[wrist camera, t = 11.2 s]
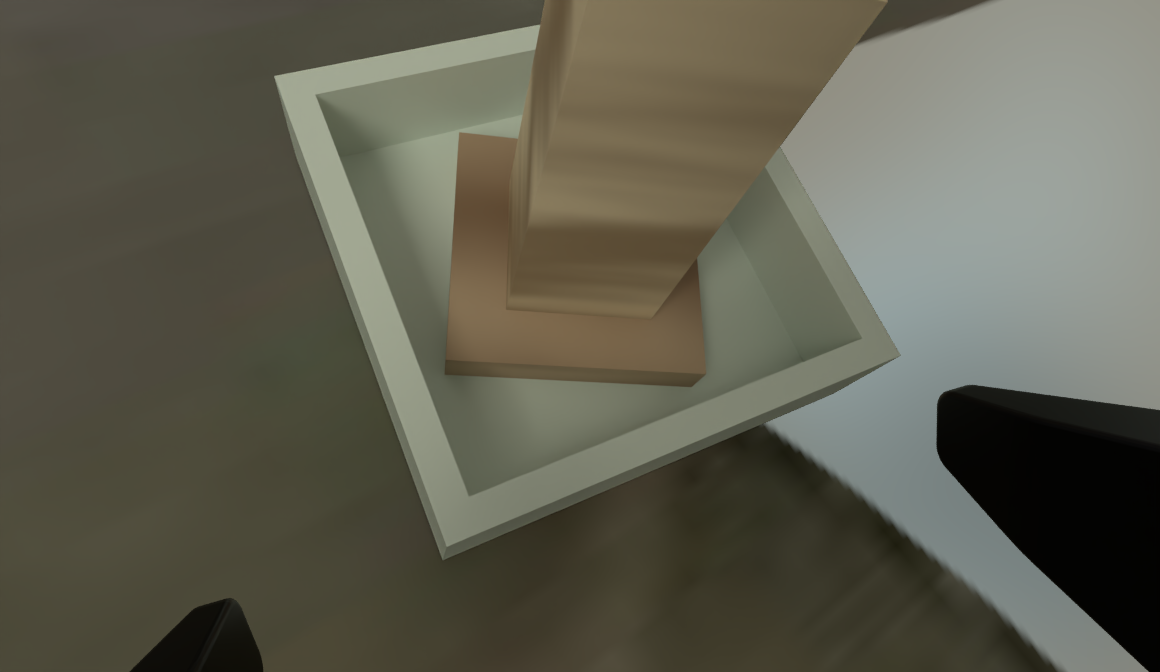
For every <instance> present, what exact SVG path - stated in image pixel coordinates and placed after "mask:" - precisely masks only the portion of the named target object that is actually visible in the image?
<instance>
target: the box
mask: <svg viewBox="0 0 1160 672" xmlns="http://www.w3.org/2000/svg"><path fill="white" fill-rule="evenodd" d="M539 29H540V25H536V26H531V27H526V28H520V29H515V30H510V31H505V32H500V33H495V34H489V35H484V36H479V37H474V38H469V39H464V40H458V41H453V42H448V43H443V44H438V45H433V46H428V47H422V48H417V49H412V50H407V51H402V52H397V53H391V54H386V55H381V56H376V57H371V58H366V59H360V60H355V61H350V62H345V63H340V64H335V65H329V66H324V67H319V68H314V69H309V70H304V71H298V72H293V73H288V74H283V75H278V76H274V77H275V81H276V84H277V88H278V92H279V96H280V99H281V103H282V107H283V110H284V114H285V118H286V121H287V125H288V129H289V133H290V136H291V140H292V144H293V147H294V151H295V155H296V158H297V161H298V163H299V166H300V169H301V172H302V174H303V177H304V180H305V183H306V185H307V188H308V191H309V194H310V196H311V199H312V202H313V205H314V207H315V210H316V213H317V216H318V218H319V221H320V224H321V227H322V229H323V232H324V235H325V238H326V241H327V243H328V246H329V249H330V252H331V254H332V257H333V260H334V263H335V265H336V268H337V271H338V274H339V276H340V279H341V282H342V285H343V287H344V290H345V293H346V296H347V298H348V301H349V304H350V307H351V309H352V312H353V315H354V318H355V320H356V323H357V326H358V329H359V331H360V334H361V337H362V340H363V342H364V345H365V348H366V351H367V353H368V356H369V359H370V362H371V364H372V367H373V370H374V373H375V375H376V378H377V381H378V384H379V386H380V389H381V392H382V395H383V397H384V400H385V403H386V406H387V409H388V411H389V414H390V417H391V420H392V422H393V425H394V428H395V431H396V433H397V436H398V439H399V442H400V444H401V447H402V450H403V453H404V455H405V458H406V461H407V464H408V466H409V469H410V472H411V475H412V477H413V480H414V483H415V486H416V488H417V491H418V494H419V497H420V499H421V502H422V505H423V508H424V510H425V513H426V516H427V519H428V521H429V524H430V527H431V530H432V532H433V535H434V538H435V541H436V543H437V546H438V549H439V552H440V554H441V557H442V560H445V559H447V558H449V557H452V556H454V555H456V554H459V553H461V552H463V551H466V550H468V549H470V548H473V547H475V546H477V545H480V544H482V543H485V542H487V541H489V540H492V539H494V538H496V537H499V536H501V535H503V534H506V533H508V532H510V531H513V530H515V529H517V528H520V527H522V526H524V525H527V524H529V523H531V522H534V521H536V520H538V519H541V518H543V517H545V516H548V515H550V514H552V513H555V512H557V511H559V510H562V509H564V508H567V507H569V506H571V505H574V504H576V503H578V502H581V501H583V500H585V499H588V498H590V497H592V496H595V495H597V494H599V493H602V492H604V491H606V490H609V489H611V488H613V487H616V486H618V485H620V484H623V483H625V482H627V481H630V480H632V479H634V478H637V477H639V476H641V475H644V474H646V473H648V472H651V471H653V470H656V469H658V468H660V467H663V466H665V465H667V464H670V463H672V462H674V461H677V460H679V459H681V458H684V457H686V456H688V455H691V454H693V453H695V452H698V451H700V450H702V449H705V448H707V447H709V446H712V445H714V444H716V443H719V442H721V441H723V440H726V439H728V438H730V437H733V436H735V435H737V434H740V433H742V432H745V431H747V430H749V429H752V428H754V427H756V426H759V425H761V424H763V423H766V422H768V421H770V420H773V419H775V418H777V417H779V416H782V415H784V414H787V413H789V412H791V411H794V410H796V409H798V408H801V407H803V406H805V405H808V404H810V403H812V402H815V401H817V400H819V399H822V398H824V397H826V396H829V395H831V394H833V393H835V392H837V391H839V390H841V389H842V388H844V387H846V386H848V385H849V384H851V383H853V382H855V381H856V380H858V379H860V378H862V377H864V376H865V375H867V374H869V373H871V372H872V371H874V370H876V369H878V368H879V367H881V366H883V365H884V364H886V363H888V362H890V361H892V360H894V359H895V358H897V357H899V356H900V353H899V352H898V350H897V348H896V347H895V345H894V343H893V341H892V340H891V338H890V336H889V335H888V333H887V331H886V329H885V328H884V326H883V324H882V322H881V321H880V319H879V317H878V315H877V314H876V312H875V310H874V308H873V307H872V305H871V303H870V302H869V300H868V298H867V296H866V295H865V293H864V291H863V290H862V288H861V286H860V284H859V283H858V281H857V279H856V277H855V276H854V274H853V272H852V270H851V269H850V267H849V265H848V264H847V262H846V260H845V258H844V257H843V255H842V253H841V251H840V250H839V248H838V246H837V245H836V243H835V241H834V239H833V238H832V236H831V234H830V232H829V231H828V229H827V227H826V225H825V224H824V222H823V220H822V219H821V217H820V215H819V214H818V212H817V210H816V208H815V207H814V205H813V203H812V201H811V200H810V198H809V196H808V194H807V193H806V191H805V189H804V187H803V186H802V184H801V182H800V181H799V179H798V177H797V176H796V174H795V172H794V170H793V169H792V167H791V165H790V163H789V162H788V160H787V158H786V157H785V155H784V153H783V151H782V149H781V148H780V147H779V148H778V150H777V151H776V152H775V154H774V155H773V156H772V158H771V159H770V160H769V162H768V163H767V164H766V166H765V167H764V168H763V170H762V171H761V173H760V174H759V175H758V177H757V178H756V179H755V181H754V182H753V183H752V185H751V186H750V187H749V189H748V190H747V191H746V193H745V194H744V195H743V197H742V198H741V199H740V201H739V202H738V203H737V205H736V206H735V207H734V209H733V210H732V211H731V213H730V214H729V215H728V217H727V218H726V219H725V221H724V222H723V224H722V225H721V226H720V228H719V229H718V230H717V232H716V233H715V234H714V236H713V237H712V238H711V240H710V241H709V242H708V244H707V245H706V246H705V248H704V249H703V250H702V252H701V253H700V254H699V256H698V257H697V262H698V274H699V287H700V300H701V312H702V325H703V338H704V350H705V363H706V375H705V376H704V377H702V378H701V379H700V380H699V381H698V382H697V383H696V384H695V385H693V386H692V387H679V386H659V385H640V384H620V383H600V382H580V381H560V380H540V379H521V378H501V377H481V376H461V375H445V358H446V341H447V324H448V307H449V290H450V273H451V256H452V239H453V222H454V205H455V188H456V171H457V155H458V141H459V132H462V133H471V134H480V135H489V136H498V137H507V138H515V139H518V136H519V131H520V126H521V121H522V116H523V111H524V106H525V101H526V95H527V90H528V85H529V80H530V75H531V70H532V65H533V60H534V55H535V49H536V44H537V39H538V34H539Z"/></svg>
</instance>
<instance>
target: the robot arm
mask: <svg viewBox="0 0 1160 672" xmlns="http://www.w3.org/2000/svg"><path fill="white" fill-rule="evenodd" d="M937 452H938V455H939V458H940V460H941V461H942V463H943V465H944V466H945V467H946V468H947V469H948V470H949V472H950V473H951V474H952V475H953V476H954V477H955V478H956V479H957V481H958V482H959V483H960V484H961V485H962V486H963V487H964V489H965V490H966V491H967V492H968V493H969V494H970V495H971V496H972V498H973V499H974V500H975V501H976V502H977V503H978V504H979V505H980V507H981V508H982V509H983V510H984V511H985V512H986V513H987V515H989V517H990V518H991V519H992V520H993V521H994V522H995V524H996V525H997V526H998V527H999V528H1000V529H1001V530H1002V531H1003V533H1005V535H1006V536H1007V537H1008V538H1009V539H1010V540H1011V541H1012V542H1013V543H1014V545H1015V546H1016V547H1017V548H1018V549H1019V550H1020V551H1021V552H1022V553H1023V554H1024V555H1025V556H1026V557H1027V558H1028V559H1029V560H1030V561H1031V562H1032V563H1033V564H1034V565H1035V566H1036V567H1038V568H1039V569H1040V570H1041V571H1042V572H1043V573H1044V574H1045V575H1046V576H1047V577H1048V578H1049V579H1050V580H1051V581H1052V582H1054V583H1055V584H1056V585H1057V586H1058V587H1059V588H1060V589H1061V590H1062V591H1063V592H1064V593H1065V594H1066V595H1067V596H1069V597H1070V598H1071V599H1072V600H1073V601H1074V602H1075V603H1076V604H1077V605H1078V606H1079V607H1080V608H1081V609H1082V610H1084V611H1085V612H1086V613H1087V614H1088V615H1089V616H1090V617H1091V618H1092V619H1093V620H1094V621H1095V622H1096V623H1097V624H1098V625H1099V626H1101V627H1102V628H1103V629H1104V630H1105V631H1106V632H1107V633H1108V634H1109V635H1110V636H1111V637H1112V638H1113V639H1115V640H1116V641H1117V642H1118V643H1119V644H1120V645H1121V646H1122V647H1123V648H1124V649H1125V650H1126V651H1127V652H1128V653H1129V654H1130V655H1132V656H1133V657H1134V658H1135V659H1136V660H1137V661H1138V662H1139V663H1140V664H1141V665H1142V666H1143V667H1144V668H1145V669H1146V670H1148V671H1149V672H1160V410H1155V409H1147V408H1140V407H1132V406H1125V405H1118V404H1110V403H1103V402H1096V401H1088V400H1081V399H1073V398H1066V397H1058V396H1051V395H1043V394H1036V393H1029V392H1022V391H1014V390H1007V389H1000V388H992V387H985V386H977V385H967V386H963V387H960V388H956V389H952V390H949V391H946V392H944V393H943V394H942V395H941V396H940V397H939V400H938V403H937ZM130 672H263V664H262V659H261V655H260V652H259V649H258V647H257V645H256V642H255V640H254V637H253V635H252V632H251V630H250V628H249V625H248V623H247V620H246V618H245V615H244V613H243V611H242V608H241V606H240V605H239V604H238V602H237V601H236V600H234V599H232V598H227V599H223V600H220V601H216V602H213V603H209V604H206V605H202V606H199V607H197V608H195V609H193V610H192V611H191V612H190V613H189V614H188V615H187V616H186V617H185V618H184V619H183V620H182V621H181V622H180V623H179V624H178V625H177V626H175V627H174V628H173V629H172V630H171V631H170V632H169V633H168V634H167V635H166V636H165V637H164V638H163V639H162V640H161V641H160V642H159V643H158V644H157V645H156V646H155V647H154V648H153V649H152V650H151V651H150V652H149V653H148V654H147V655H146V656H145V657H144V658H143V659H142V660H141V661H140V662H139V663H138V664H137V665H136V666H135V667H134V668H133V669H132V670H131V671H130Z"/></svg>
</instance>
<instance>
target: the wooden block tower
mask: <svg viewBox="0 0 1160 672" xmlns="http://www.w3.org/2000/svg"><path fill="white" fill-rule="evenodd" d="M887 2H888V1H887V0H545V3H544V9H543V14H542V19H541V24H540V29H539V34H538V39H537V44H536V49H535V55H534V60H533V65H532V70H531V75H530V80H529V85H528V90H527V95H526V101H525V106H524V111H523V116H522V121H521V126H520V131H519V136H518V139H515V138H507V137H498V136H489V135H480V134H471V133H462V132H459V141H458V155H457V171H456V188H455V205H454V222H453V239H452V256H451V273H450V290H449V307H448V324H447V341H446V358H445V375H461V376H481V377H501V378H521V379H540V380H560V381H580V382H600V383H620V384H640V385H659V386H679V387H692V386H693V385H695V384H696V383H697V382H698V381H699V380H700V379H701V378H702V377H704V376H705V375H706V363H705V350H704V338H703V325H702V312H701V300H700V287H699V274H698V262H697V257H698V256H699V254H700V253H701V252H702V250H703V249H704V248H705V246H706V245H707V244H708V242H709V241H710V240H711V238H712V237H713V236H714V234H715V233H716V232H717V230H718V229H719V228H720V226H721V225H722V224H723V222H724V221H725V219H726V218H727V217H728V215H729V214H730V213H731V211H732V210H733V209H734V207H735V206H736V205H737V203H738V202H739V201H740V199H741V198H742V197H743V195H744V194H745V193H746V191H747V190H748V189H749V187H750V186H751V185H752V183H753V182H754V181H755V179H756V178H757V177H758V175H759V174H760V173H761V171H762V170H763V168H764V167H765V166H766V164H767V163H768V162H769V160H770V159H771V158H772V156H773V155H774V154H775V152H776V151H777V150H778V148H779V147H780V145H781V144H782V143H783V142H784V140H785V139H786V138H787V136H788V135H789V134H790V132H791V131H792V130H793V128H794V127H795V126H796V124H797V123H798V122H799V120H800V119H801V118H802V116H803V115H804V113H805V112H806V110H807V109H808V108H809V107H810V105H811V104H812V103H813V101H814V100H815V99H816V97H817V96H818V95H819V93H820V92H821V91H822V89H823V88H824V87H825V85H826V84H827V83H828V81H829V80H830V79H831V77H832V76H833V74H834V73H835V72H836V71H837V69H838V68H839V67H840V65H841V64H842V62H843V61H844V60H845V58H846V57H847V56H848V54H849V53H850V52H851V50H852V49H853V48H854V46H855V45H856V44H857V42H858V41H859V40H860V38H861V37H862V36H863V34H864V33H865V32H866V30H867V29H868V28H869V26H870V25H871V24H872V22H873V21H874V20H875V18H876V17H877V16H878V14H879V13H880V12H881V10H882V9H883V7H884V6H885V5H886V3H887Z"/></svg>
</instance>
